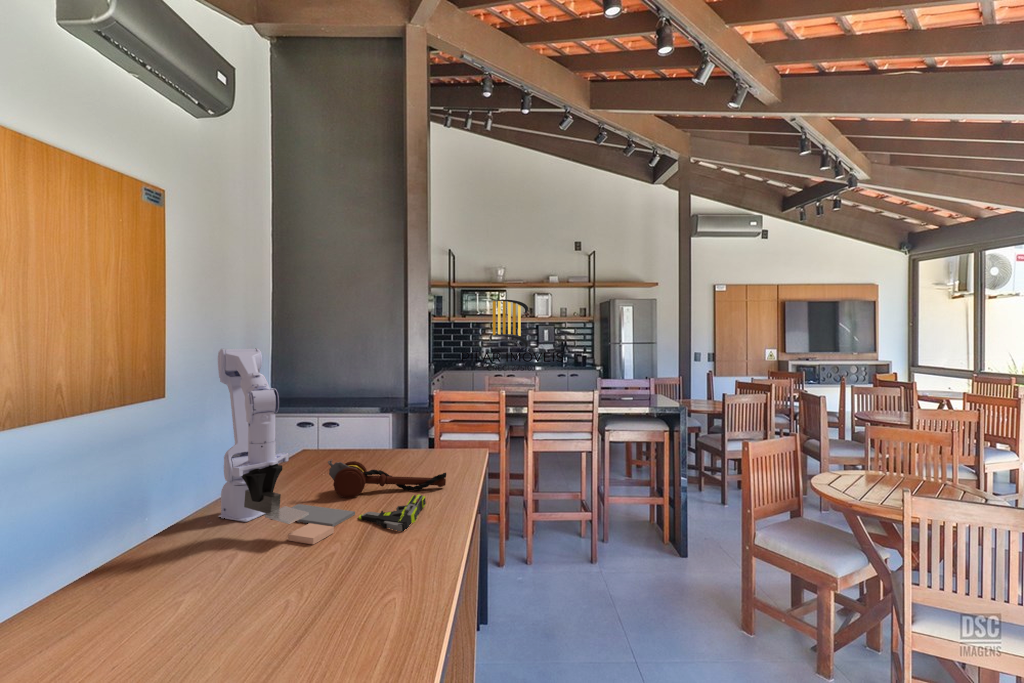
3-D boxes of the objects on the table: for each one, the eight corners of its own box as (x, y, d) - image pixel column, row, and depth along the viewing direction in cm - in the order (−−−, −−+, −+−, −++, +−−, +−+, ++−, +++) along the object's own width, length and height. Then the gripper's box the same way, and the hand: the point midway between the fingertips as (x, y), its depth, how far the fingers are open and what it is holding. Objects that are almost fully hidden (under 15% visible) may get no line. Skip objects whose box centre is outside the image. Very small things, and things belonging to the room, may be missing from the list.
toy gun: (373, 492, 139) (426, 490, 138) (374, 507, 139) (427, 504, 138) (346, 523, 119) (408, 520, 118) (347, 540, 119) (409, 537, 119)
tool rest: (273, 518, 127) (273, 515, 127) (298, 506, 136) (298, 503, 136) (332, 527, 121) (332, 523, 121) (355, 514, 130) (355, 511, 130)
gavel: (443, 491, 158) (445, 501, 148) (329, 488, 151) (323, 498, 141) (446, 459, 158) (448, 467, 148) (332, 455, 151) (326, 463, 141)
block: (287, 534, 113) (313, 538, 111) (309, 523, 120) (333, 526, 118) (287, 541, 113) (313, 545, 111) (309, 529, 120) (333, 533, 118)
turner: (237, 509, 115) (239, 492, 115) (258, 501, 121) (260, 485, 121) (289, 524, 110) (290, 506, 110) (308, 514, 116) (310, 498, 116)
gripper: (249, 449, 108) (249, 511, 109) (298, 436, 122) (298, 491, 122) (225, 446, 111) (225, 507, 111) (275, 434, 124) (275, 488, 125)
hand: (262, 498), depth 117 cm, fingers closed on turner, 3 cm apart
